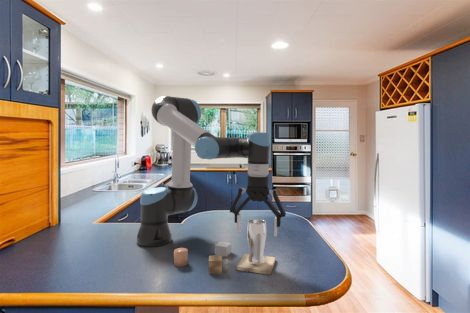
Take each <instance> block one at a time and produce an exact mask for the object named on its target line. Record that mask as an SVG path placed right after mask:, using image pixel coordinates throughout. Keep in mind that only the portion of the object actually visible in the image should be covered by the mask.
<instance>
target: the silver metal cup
mask: <svg viewBox="0 0 470 313" xmlns="http://www.w3.org/2000/svg"><path fill="white" fill-rule="evenodd" d="M246 237H247V238H246V239H247V244H248V254H249V258H248V262H249V263H250V264H252V265H262V264H264V262H265V260H264V256H265V254H264V251H265V245H266V239H267V221H266V220H264V219H260V218H251V219H248V220H247V229H246Z"/></svg>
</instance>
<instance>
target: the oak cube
mask: <svg viewBox="0 0 470 313" xmlns="http://www.w3.org/2000/svg"><path fill="white" fill-rule="evenodd" d="M208 274H210V275H211V274H223V256H222V255H209V256H208Z"/></svg>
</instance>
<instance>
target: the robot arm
mask: <svg viewBox="0 0 470 313" xmlns="http://www.w3.org/2000/svg"><path fill="white" fill-rule="evenodd" d="M151 115H152V117H153V119H154V120H155V121H156V122H157V124H160V126H164V127H168V128H169V129H170V130H172V132H173V133H172V153H171V154H172V157H171V158H172V159H171V181H170V182H169V183H168V184H167V187H163V186H159V187H158V186H157V187H151V188H148V189H145V190H142V192H141V194H140V201H139V203H140V227H139V229H138V233H137V235H136V244H137V245H139V246H141V247H146V248H147V247H149V248H150V247H160V246H165V245H166V244H167V245H168V244H169V243H171V242H172V240H173V239H172V236H173V234H172V233H171V232H172V231H171V229H170V225H169V223H168V222H169V221H168V220H169V218H168V216H171V215H176V214H181V213H182V214H183V213H186V212H189V211H191V210H193V209H194V208H196V205H197V203H198V193H197V190H196V189H195V188H194V186H193V183H192V182H191V162H192V161H191V160H192V147H194V152H195V153H196V156H197V157H198V158H200V159H202V160H215V159H216V160H217V159H235V158H237V159H238V158H239V159H247V174H248V175H247V182H246V183H247V187H246V188H245V187H243V186H242V187H241V186H240V187H239V188H238V193H237V196H236V197H235V199H234V201H233V203H232V205H231V206H230V209H229V213H232V214H234V223H236V233H237V234H239V233H240V232H241V231H242V213H240V212H241V211H242V210H243V208H245V206H247V204H248V203H249V202H250V201H252V202H259V203H261V202H264V203H265V205H266V206H267V207H268V208H269V209H270V211H271V212H272V213H273V214H274V219H273V220H274V222H273V224H274V225H273V226H274V228H273V231H274V232H273V236H274V237H277V236H278V228H280V226H281V219H282V218H284V217H286V216H287V215H286V213H287V212H286V211H285V208H284V206H283V204H282V202H281V199H280V197H279V196H278V189H276V188H275V189H269V171H270V167H269V166H270V165H269V163H270V162H269V161H270V160H269V159H270V146H271V145H270V136H269V133H268V132H258V131H257V132H256V131H255V132H254V131H253V132H252V131H251V132H249V133H248V135H247V137H231V136H230V137H225V136H224V137H221V136H219V137H218V136H215V135H213V134H212V133H211V132H209V131H208V130H207V129H205V128H204V127H202V126H201V125H199V122H200V120H201V118H202V109H201V107H200V105H199V103H198V102H197V100H194V99H190V98H187V97H178V96H171V95H164V96H160V97H158V98H157V99H155V101H154V102H153V103H152V106H151ZM245 193H246V195H247V196H248V197H246V198H245V200H243V202H241V204H240V205H239V207H238V208H237V206H238V204H239V202H240V201H241V198H242V197H243V195H244V194H245ZM269 195H271V197H273V200H274V203H275V204H276V206H277V208H278V209H277V208H276V206H275V205H274V204H273V202H272V201H271V200H270V198H269V197H268V196H269Z"/></svg>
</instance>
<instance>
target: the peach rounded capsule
mask: <svg viewBox="0 0 470 313" xmlns="http://www.w3.org/2000/svg"><path fill="white" fill-rule="evenodd" d="M188 253H189V250H188V248H185V247H179V248H175V249H174V250H173V266H175V267H185V266H187V265H188V264H189V261H188V260H189V258H188V257H189V256H188V255H189V254H188Z"/></svg>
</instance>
